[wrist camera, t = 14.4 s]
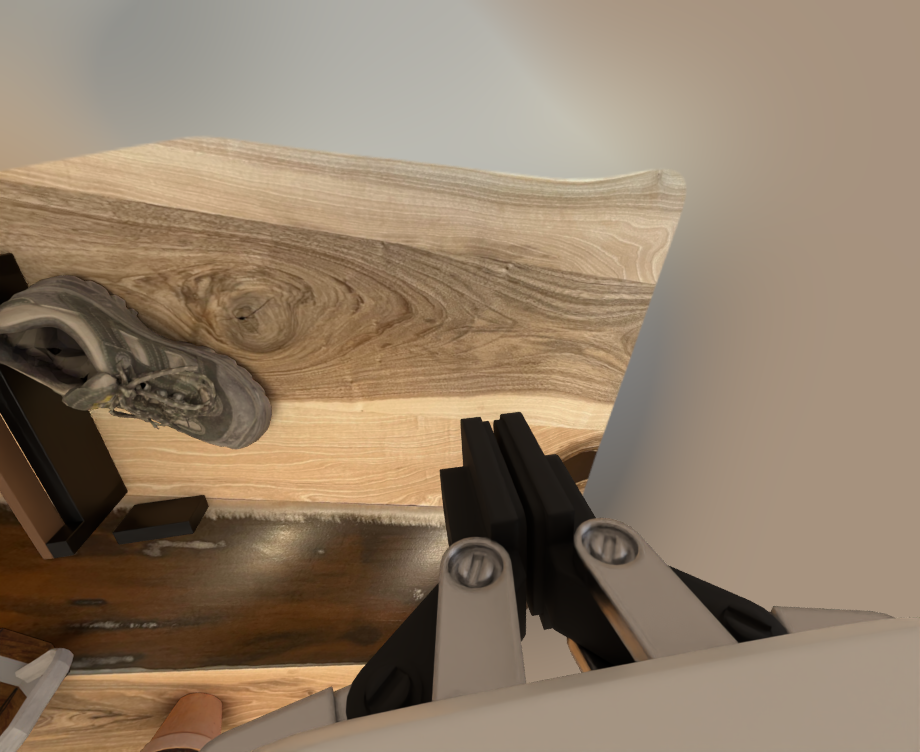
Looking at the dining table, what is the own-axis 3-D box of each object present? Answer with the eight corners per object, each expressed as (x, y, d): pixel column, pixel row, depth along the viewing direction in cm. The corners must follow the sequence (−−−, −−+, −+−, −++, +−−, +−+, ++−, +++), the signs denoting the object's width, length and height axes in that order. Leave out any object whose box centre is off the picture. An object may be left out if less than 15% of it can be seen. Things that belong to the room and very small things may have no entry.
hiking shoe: (233, 474, 43) (214, 497, 32) (13, 349, 37) (-103, 324, 26) (291, 397, 45) (292, 394, 34) (93, 270, 40) (17, 216, 29)
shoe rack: (-21, 255, 34) (-139, 276, 27) (105, 245, 35) (27, 262, 28) (115, 520, 46) (60, 587, 38) (209, 506, 47) (173, 569, 39)
